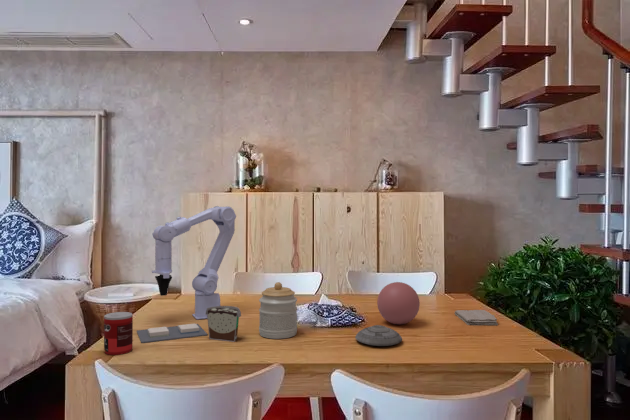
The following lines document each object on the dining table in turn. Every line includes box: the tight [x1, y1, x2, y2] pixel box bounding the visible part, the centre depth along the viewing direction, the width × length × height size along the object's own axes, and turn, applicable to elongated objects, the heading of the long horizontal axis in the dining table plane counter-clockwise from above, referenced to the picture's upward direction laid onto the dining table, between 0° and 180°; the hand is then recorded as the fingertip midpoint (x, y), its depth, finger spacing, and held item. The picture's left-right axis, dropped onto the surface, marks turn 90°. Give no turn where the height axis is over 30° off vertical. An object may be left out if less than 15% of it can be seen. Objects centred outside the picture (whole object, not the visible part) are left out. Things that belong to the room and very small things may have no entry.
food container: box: [206, 305, 242, 343], centre depth 155 cm, size 12×6×10 cm, turn 71°
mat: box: [136, 323, 209, 344], centre depth 160 cm, size 21×15×1 cm
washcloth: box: [454, 309, 499, 327], centre depth 181 cm, size 12×18×3 cm, turn 0°
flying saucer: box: [354, 324, 403, 347], centre depth 152 cm, size 15×15×6 cm
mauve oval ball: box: [377, 281, 421, 325], centre depth 177 cm, size 15×20×15 cm
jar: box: [258, 281, 298, 340], centre depth 160 cm, size 13×13×18 cm
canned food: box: [103, 311, 134, 356], centre depth 141 cm, size 8×8×11 cm
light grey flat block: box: [177, 323, 199, 334], centre depth 162 cm, size 6×2×6 cm
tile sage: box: [147, 326, 169, 338], centre depth 158 cm, size 6×2×6 cm
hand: (163, 295), depth 173 cm, fingers closed
